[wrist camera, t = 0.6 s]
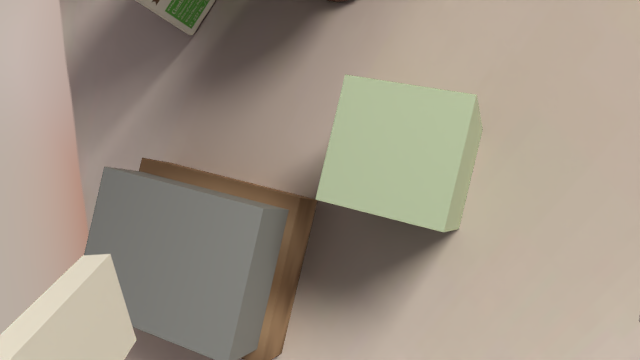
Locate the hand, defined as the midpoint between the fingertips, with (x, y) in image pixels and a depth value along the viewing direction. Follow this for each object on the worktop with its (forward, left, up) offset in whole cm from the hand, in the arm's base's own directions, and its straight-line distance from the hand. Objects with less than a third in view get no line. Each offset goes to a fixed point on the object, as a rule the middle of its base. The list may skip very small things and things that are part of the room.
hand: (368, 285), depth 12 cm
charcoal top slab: (+5, -17, -19) cm, 27 cm away
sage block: (-5, -3, -23) cm, 24 cm away
